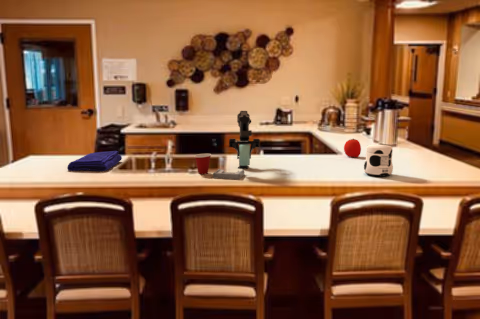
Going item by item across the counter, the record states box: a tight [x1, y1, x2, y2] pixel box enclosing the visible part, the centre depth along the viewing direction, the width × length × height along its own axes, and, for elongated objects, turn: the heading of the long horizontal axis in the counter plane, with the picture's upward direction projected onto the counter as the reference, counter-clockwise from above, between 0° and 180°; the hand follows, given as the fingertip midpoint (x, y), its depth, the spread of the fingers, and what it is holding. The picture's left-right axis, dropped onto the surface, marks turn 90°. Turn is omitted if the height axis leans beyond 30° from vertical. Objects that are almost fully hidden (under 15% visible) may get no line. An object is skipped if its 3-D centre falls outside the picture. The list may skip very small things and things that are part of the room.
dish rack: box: [212, 168, 245, 180], centre depth 293 cm, size 14×16×3 cm
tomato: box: [343, 138, 362, 158], centre depth 361 cm, size 13×11×14 cm
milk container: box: [363, 144, 394, 177], centre depth 298 cm, size 17×17×18 cm
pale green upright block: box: [238, 144, 251, 166], centre depth 292 cm, size 6×6×12 cm
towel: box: [66, 150, 123, 172], centre depth 321 cm, size 26×36×9 cm
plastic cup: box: [193, 153, 212, 175], centre depth 300 cm, size 11×11×12 cm
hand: (244, 154), depth 291 cm, fingers closed on pale green upright block, 6 cm apart
